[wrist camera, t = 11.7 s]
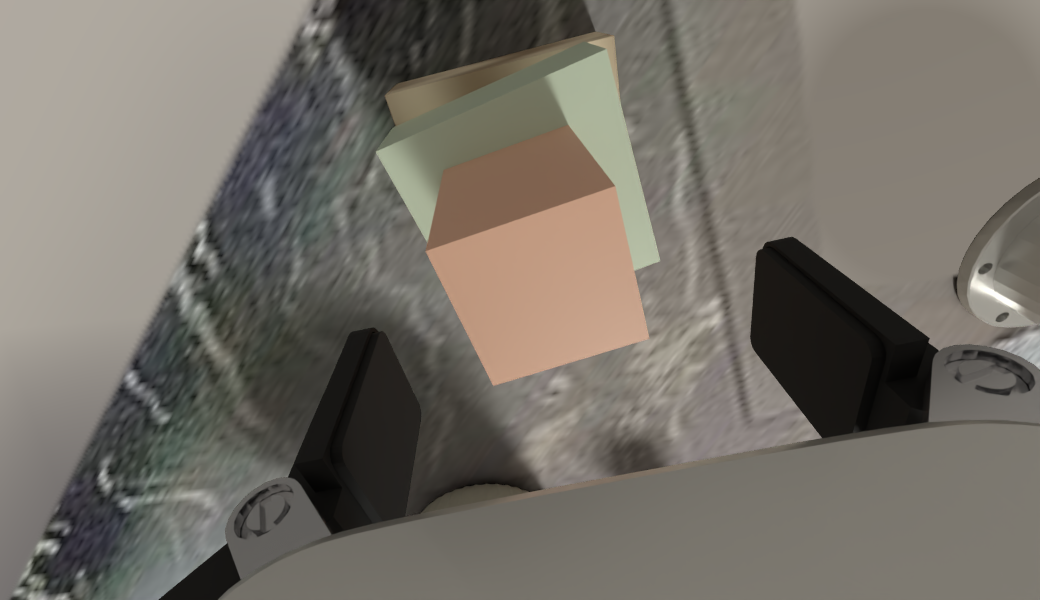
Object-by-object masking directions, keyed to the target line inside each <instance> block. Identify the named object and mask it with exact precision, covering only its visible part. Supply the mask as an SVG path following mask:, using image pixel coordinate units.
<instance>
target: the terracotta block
mask: <svg viewBox="0 0 1040 600" xmlns="http://www.w3.org/2000/svg"><path fill="white" fill-rule="evenodd" d="M426 253H427V255H428V257H429V259H430V261H431V263H432V265H433V267H434V269H435V271H436V273H437V275H438V277H439V279H440V281H441V283H442V285H443V287H444V289H445V291H446V293H447V295H448V297H449V299H450V301H451V303H452V305H453V307H454V308H455V310H456V312H457V314H458V316H459V318H460V320H461V322H462V324H463V326H464V328H465V330H466V332H467V334H468V336H469V338H470V340H471V342H472V344H473V346H474V348H475V350H476V352H477V354H478V356H479V358H480V360H481V362H482V364H483V366H484V368H485V370H486V372H487V374H488V376H489V378H490V380H491V382H492V384H493V386H495V385H498V384H501V383H504V382H508V381H511V380H514V379H518V378H521V377H524V376H528V375H531V374H534V373H537V372H541V371H544V370H547V369H551V368H554V367H557V366H561V365H564V364H567V363H571V362H574V361H577V360H580V359H584V358H587V357H590V356H594V355H597V354H600V353H604V352H607V351H610V350H613V349H617V348H620V347H623V346H627V345H630V344H633V343H637V342H640V341H643V340H646V339H649V335H648V330H647V326H646V321H645V317H644V312H643V308H642V303H641V299H640V294H639V290H638V285H637V281H636V276H635V272H634V267H633V263H632V258H631V254H630V250H629V245H628V241H627V236H626V232H625V227H624V223H623V218H622V214H621V209H620V205H619V200H618V196H617V191H616V187H615V185H614V184H613V182H612V181H611V180H610V178H609V177H608V176H607V175H606V173H605V172H604V171H603V169H602V168H601V167H600V165H599V164H598V163H597V162H596V160H595V159H594V158H593V156H592V155H591V154H590V152H589V151H588V150H587V148H586V147H585V146H584V145H583V143H582V142H581V141H580V139H579V138H578V137H577V135H576V134H575V133H574V132H573V130H572V129H571V128H570V126H569V125H566V126H563V127H561V128H558V129H555V130H552V131H550V132H547V133H544V134H541V135H539V136H536V137H533V138H530V139H528V140H525V141H522V142H519V143H517V144H514V145H511V146H508V147H506V148H503V149H500V150H497V151H495V152H492V153H489V154H486V155H484V156H481V157H478V158H475V159H473V160H470V161H467V162H464V163H462V164H459V165H456V166H453V167H451V168H448V169H445V170H443V175H442V179H441V184H440V188H439V193H438V198H437V202H436V207H435V211H434V216H433V220H432V225H431V229H430V234H429V238H428V243H427V247H426Z"/></svg>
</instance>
